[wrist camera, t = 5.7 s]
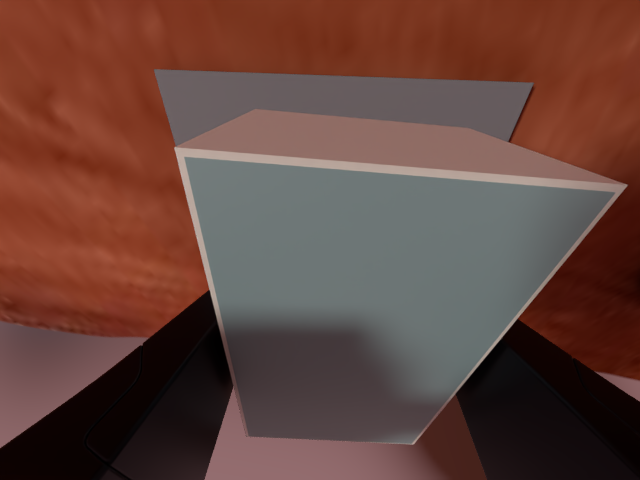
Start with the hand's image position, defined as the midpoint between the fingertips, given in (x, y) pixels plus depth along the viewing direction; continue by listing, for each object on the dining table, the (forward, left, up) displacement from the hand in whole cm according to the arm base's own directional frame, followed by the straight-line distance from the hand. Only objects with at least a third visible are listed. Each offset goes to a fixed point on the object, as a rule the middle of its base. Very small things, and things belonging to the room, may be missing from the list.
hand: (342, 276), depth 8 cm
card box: (0, 0, -1) cm, 1 cm away
